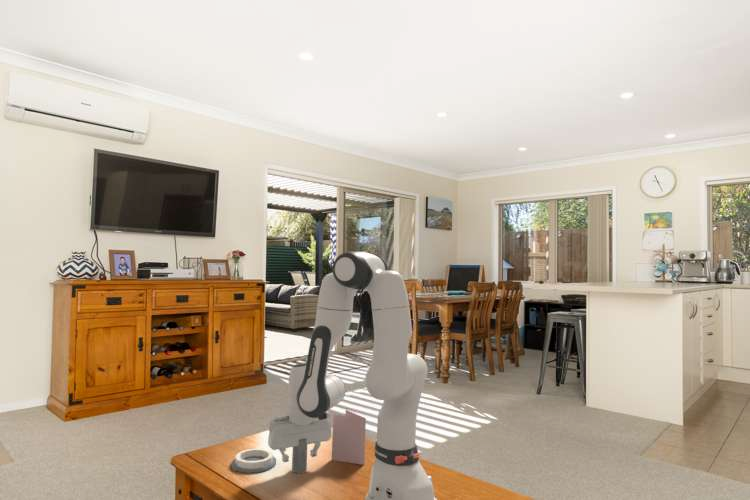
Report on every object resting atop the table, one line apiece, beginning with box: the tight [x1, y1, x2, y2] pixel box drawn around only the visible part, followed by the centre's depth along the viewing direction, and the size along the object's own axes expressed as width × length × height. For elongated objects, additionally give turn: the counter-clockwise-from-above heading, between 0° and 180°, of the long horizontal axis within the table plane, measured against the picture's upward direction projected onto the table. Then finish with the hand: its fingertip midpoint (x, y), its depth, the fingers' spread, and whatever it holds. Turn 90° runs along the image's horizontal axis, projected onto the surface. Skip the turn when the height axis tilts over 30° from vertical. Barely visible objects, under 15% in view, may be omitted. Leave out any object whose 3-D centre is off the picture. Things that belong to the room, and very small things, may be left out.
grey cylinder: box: [291, 439, 308, 474], centre depth 151 cm, size 4×4×10 cm
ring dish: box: [231, 448, 277, 474], centre depth 155 cm, size 14×14×3 cm
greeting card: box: [331, 409, 367, 466], centre depth 160 cm, size 11×7×15 cm, turn 38°
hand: (299, 458), depth 151 cm, fingers open, 8 cm apart
